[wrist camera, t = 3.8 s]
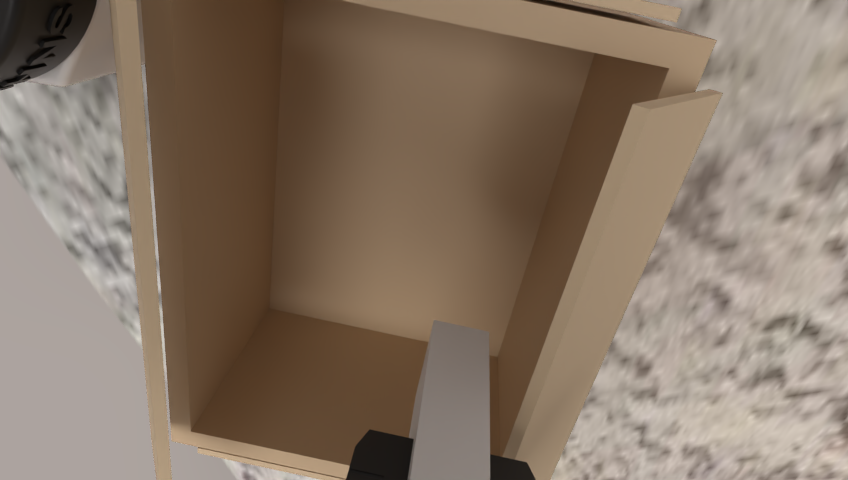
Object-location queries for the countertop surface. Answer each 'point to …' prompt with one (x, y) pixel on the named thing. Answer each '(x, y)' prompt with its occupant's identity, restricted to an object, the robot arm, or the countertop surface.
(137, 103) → the flap
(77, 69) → the jar
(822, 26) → the countertop surface
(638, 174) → the flap
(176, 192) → the carton
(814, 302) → the countertop surface
